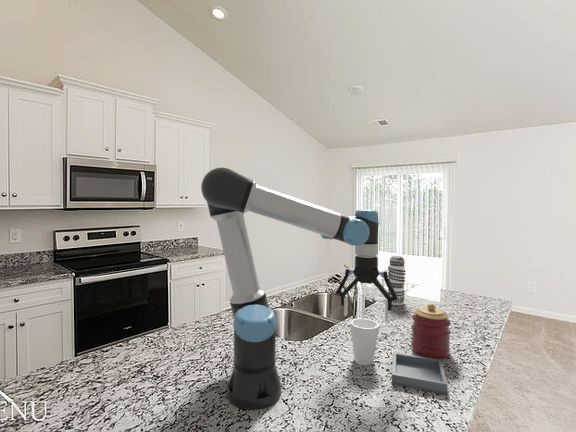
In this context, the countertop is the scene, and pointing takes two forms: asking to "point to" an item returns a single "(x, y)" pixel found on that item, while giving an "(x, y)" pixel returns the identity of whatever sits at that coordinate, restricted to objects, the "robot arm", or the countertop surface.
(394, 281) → the decorative candle
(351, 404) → the countertop surface
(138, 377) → the countertop surface
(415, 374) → the tray
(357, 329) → the foam cup
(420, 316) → the canister
